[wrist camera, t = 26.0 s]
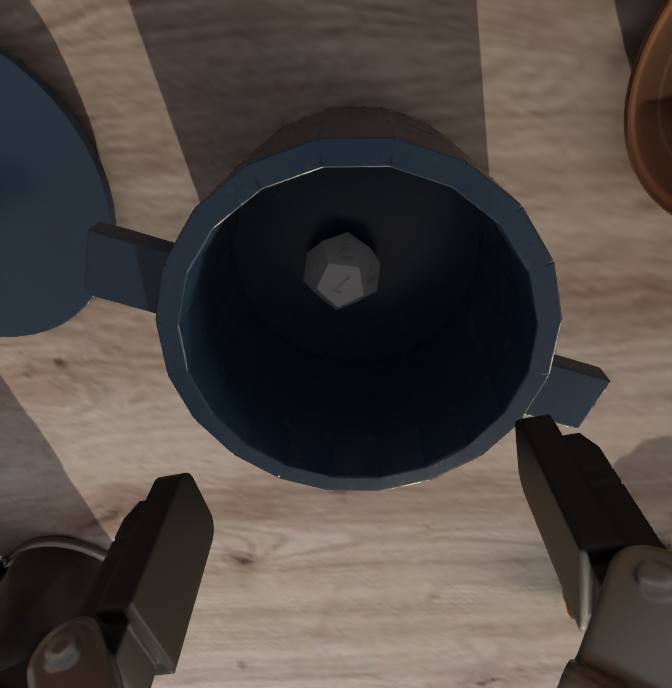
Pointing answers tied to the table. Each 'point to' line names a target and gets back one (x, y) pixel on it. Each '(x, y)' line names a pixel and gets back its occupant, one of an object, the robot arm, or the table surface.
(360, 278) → the game die
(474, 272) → the pot
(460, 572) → the table surface
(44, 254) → the lid
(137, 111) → the table surface
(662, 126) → the cup and saucer
